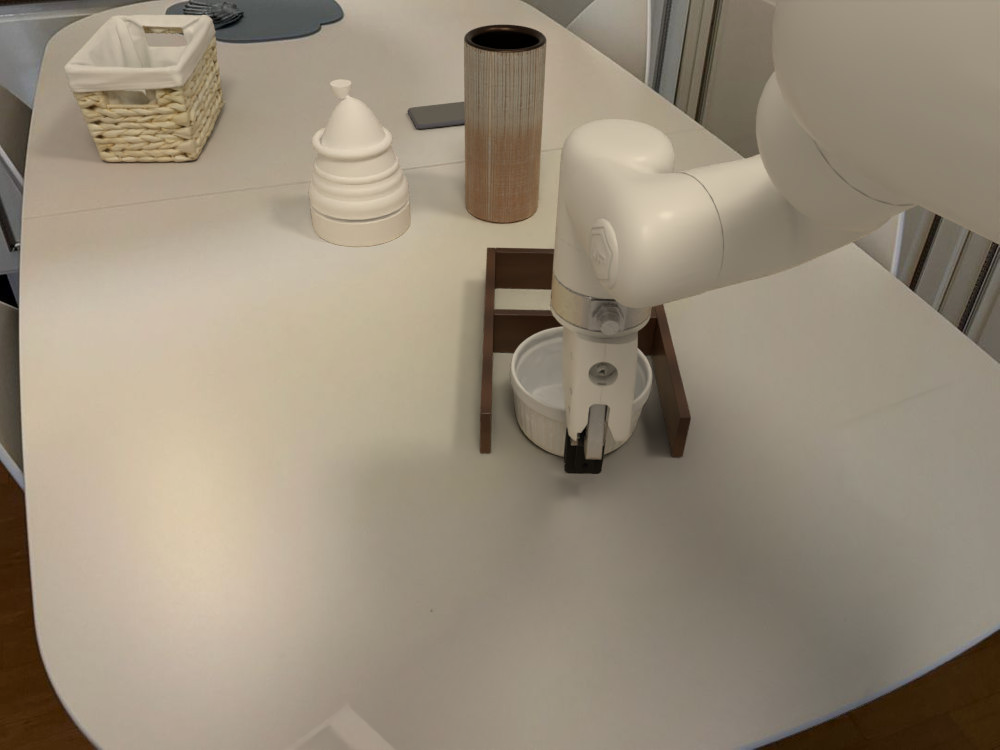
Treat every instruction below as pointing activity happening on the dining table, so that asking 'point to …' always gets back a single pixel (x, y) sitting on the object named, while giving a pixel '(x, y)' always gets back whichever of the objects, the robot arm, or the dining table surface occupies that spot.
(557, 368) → the ramekin
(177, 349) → the dining table surface
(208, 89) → the basket
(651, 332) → the frame
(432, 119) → the smartphone
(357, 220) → the honey pot
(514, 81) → the planter
